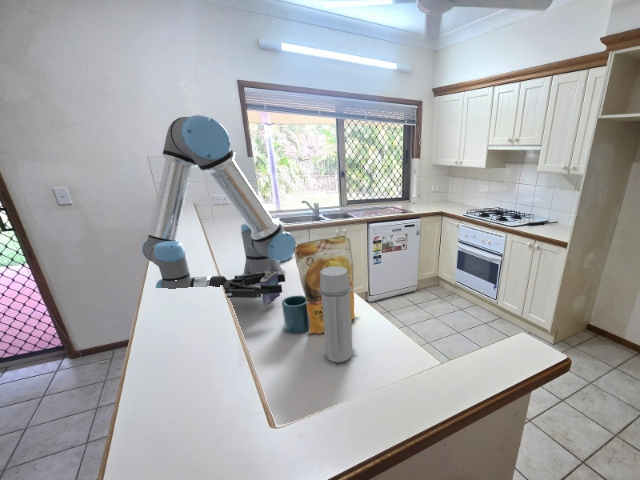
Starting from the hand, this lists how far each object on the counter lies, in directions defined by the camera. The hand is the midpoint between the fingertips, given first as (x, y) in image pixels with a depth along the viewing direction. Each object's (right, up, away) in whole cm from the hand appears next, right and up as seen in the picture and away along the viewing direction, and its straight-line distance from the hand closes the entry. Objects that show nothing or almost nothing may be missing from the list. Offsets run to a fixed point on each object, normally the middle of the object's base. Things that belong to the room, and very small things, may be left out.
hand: (283, 283), depth 114 cm
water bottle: (+24, -21, -25) cm, 40 cm away
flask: (-5, -6, +2) cm, 8 cm away
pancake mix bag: (+18, -14, -9) cm, 24 cm away
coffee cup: (+8, -14, -10) cm, 19 cm away
